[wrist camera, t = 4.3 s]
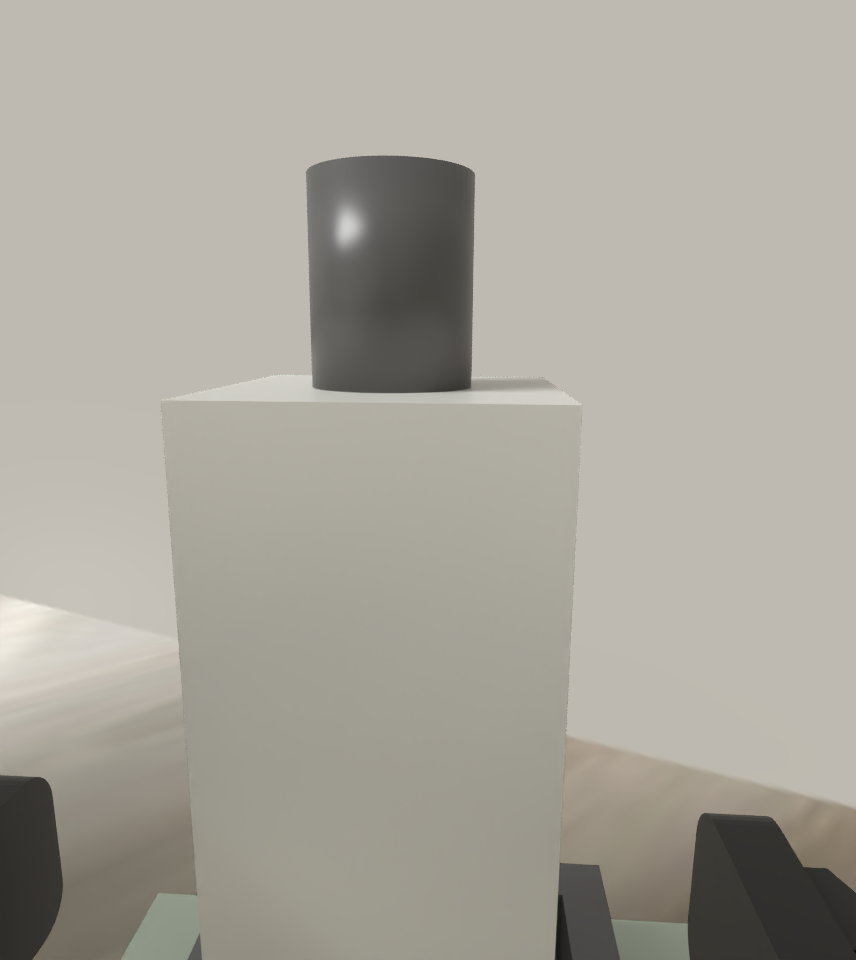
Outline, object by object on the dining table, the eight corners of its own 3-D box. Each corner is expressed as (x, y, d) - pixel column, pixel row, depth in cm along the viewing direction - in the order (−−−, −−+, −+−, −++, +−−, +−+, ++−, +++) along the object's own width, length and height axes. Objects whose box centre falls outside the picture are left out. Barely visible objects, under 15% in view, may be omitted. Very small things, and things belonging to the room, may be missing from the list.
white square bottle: (224, 1271, 11) (141, 129, 8) (300, 988, 16) (269, 207, 13) (537, 1300, 11) (595, 123, 8) (519, 1002, 16) (549, 205, 12)
